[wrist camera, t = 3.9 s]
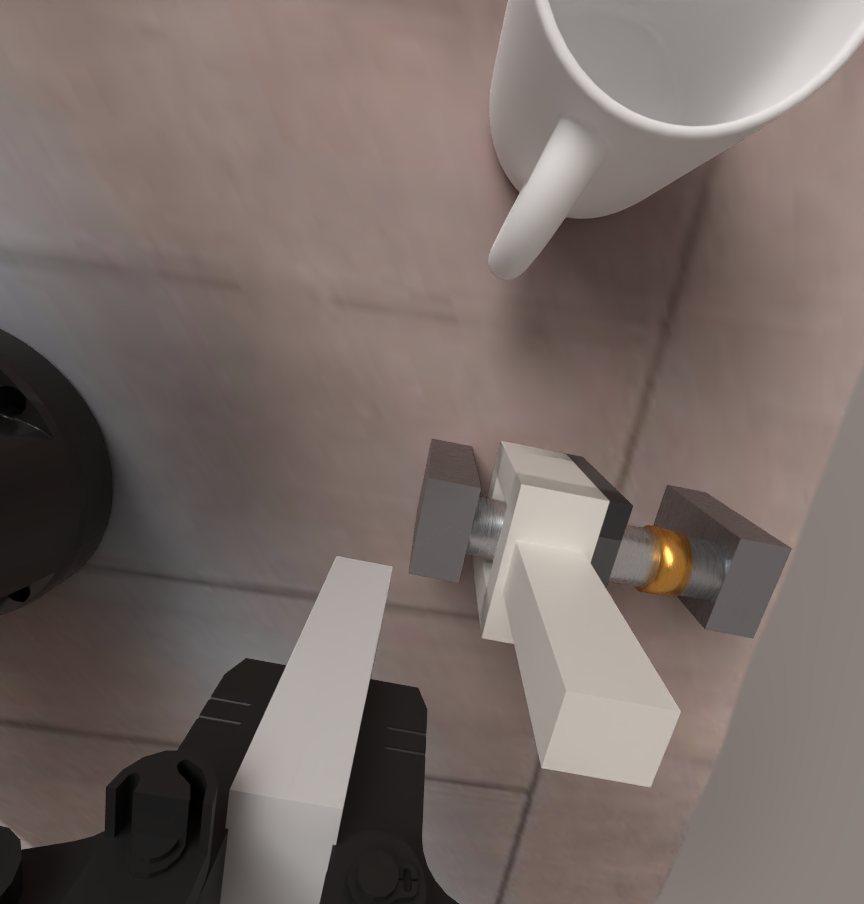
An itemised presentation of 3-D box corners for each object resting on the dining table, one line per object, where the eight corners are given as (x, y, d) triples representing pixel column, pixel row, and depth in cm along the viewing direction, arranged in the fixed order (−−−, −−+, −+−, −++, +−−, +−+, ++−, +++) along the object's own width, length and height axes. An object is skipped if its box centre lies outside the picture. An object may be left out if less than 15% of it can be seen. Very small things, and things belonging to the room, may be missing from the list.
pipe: (416, 513, 25) (408, 575, 19) (431, 438, 24) (427, 479, 18) (680, 563, 25) (755, 640, 19) (705, 492, 24) (794, 550, 18)
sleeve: (471, 559, 23) (505, 835, 11) (500, 440, 22) (578, 602, 9) (548, 574, 24) (670, 863, 11) (582, 457, 22) (769, 638, 9)
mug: (557, 334, 23) (648, 345, 13) (404, 234, 22) (371, 160, 12) (729, 75, 20) (1019, -172, 10) (562, -53, 19) (696, -473, 9)
